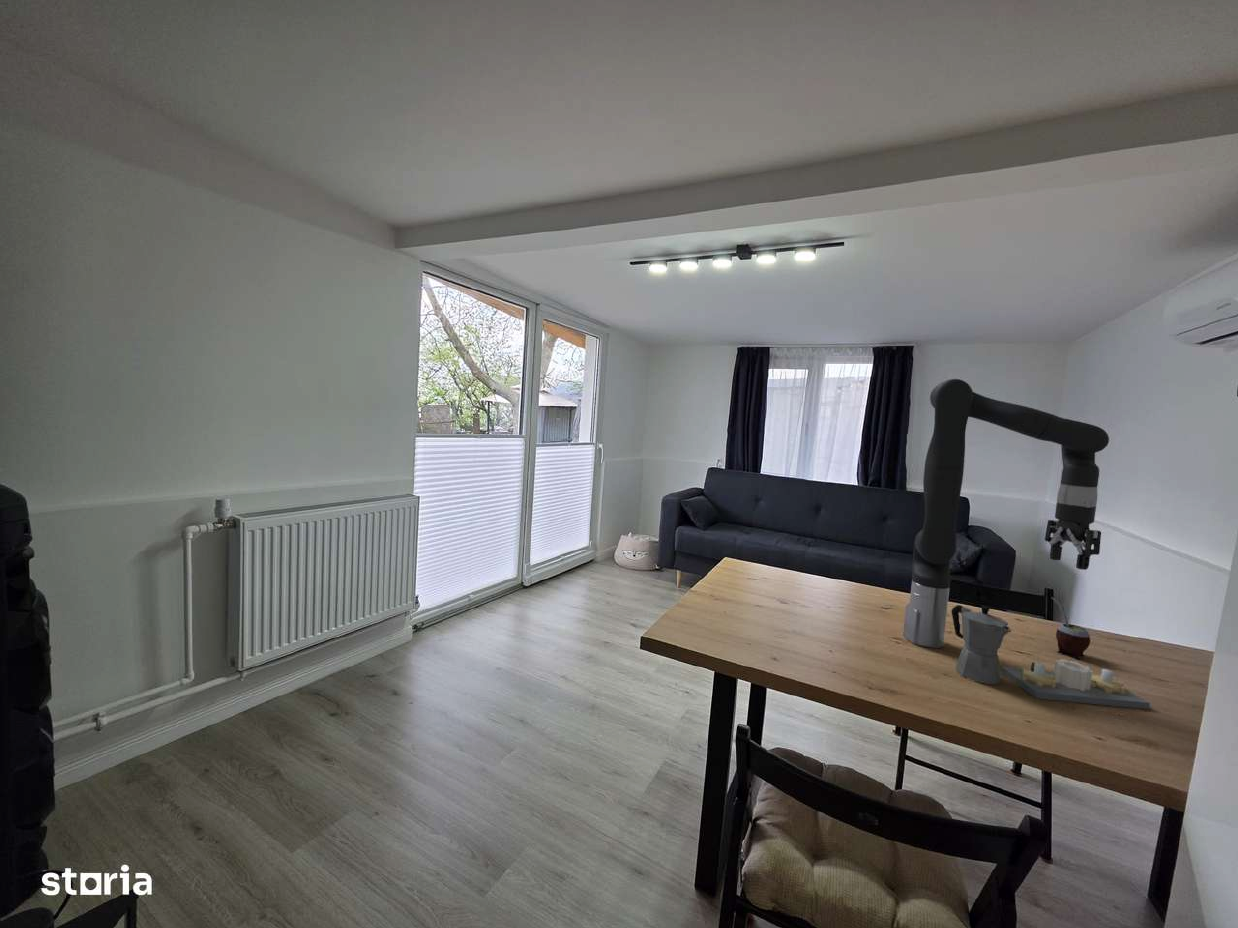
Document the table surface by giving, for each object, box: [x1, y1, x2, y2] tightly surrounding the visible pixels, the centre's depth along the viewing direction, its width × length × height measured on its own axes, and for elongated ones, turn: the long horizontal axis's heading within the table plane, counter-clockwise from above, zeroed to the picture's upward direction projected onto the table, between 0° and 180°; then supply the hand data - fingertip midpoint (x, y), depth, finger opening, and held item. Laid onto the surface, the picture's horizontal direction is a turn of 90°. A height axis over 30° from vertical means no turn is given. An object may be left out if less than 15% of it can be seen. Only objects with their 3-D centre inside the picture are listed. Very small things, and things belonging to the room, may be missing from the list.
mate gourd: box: [1050, 596, 1091, 661], centre depth 139 cm, size 8×8×15 cm
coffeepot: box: [951, 604, 1012, 685], centre depth 124 cm, size 15×9×18 cm, turn 13°
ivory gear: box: [1053, 658, 1094, 691], centre depth 119 cm, size 7×7×4 cm
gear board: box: [1001, 661, 1151, 710], centre depth 119 cm, size 24×12×6 cm, turn 85°
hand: (1068, 564), depth 128 cm, fingers open, 8 cm apart
